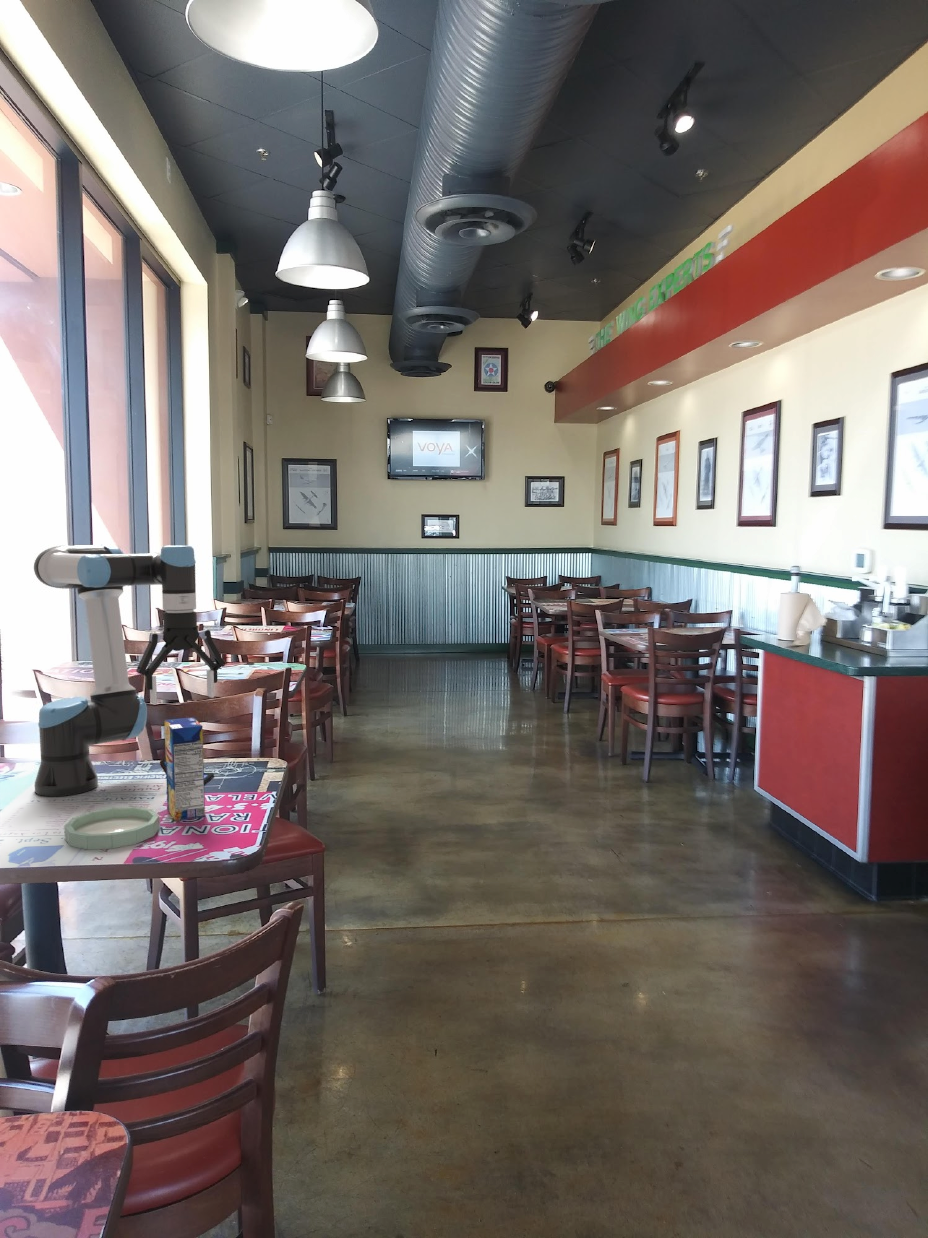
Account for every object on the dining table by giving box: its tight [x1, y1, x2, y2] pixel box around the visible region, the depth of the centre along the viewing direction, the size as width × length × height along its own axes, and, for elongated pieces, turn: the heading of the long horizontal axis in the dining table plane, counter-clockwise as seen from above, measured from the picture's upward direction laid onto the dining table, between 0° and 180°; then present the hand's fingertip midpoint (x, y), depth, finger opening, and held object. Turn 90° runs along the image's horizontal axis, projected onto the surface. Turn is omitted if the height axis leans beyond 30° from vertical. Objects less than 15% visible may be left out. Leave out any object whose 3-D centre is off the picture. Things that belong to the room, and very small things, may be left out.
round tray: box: [64, 806, 161, 850], centre depth 191 cm, size 19×19×3 cm
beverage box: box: [163, 716, 206, 822], centre depth 204 cm, size 7×11×22 cm, turn 28°
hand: (182, 700), depth 202 cm, fingers open, 13 cm apart
